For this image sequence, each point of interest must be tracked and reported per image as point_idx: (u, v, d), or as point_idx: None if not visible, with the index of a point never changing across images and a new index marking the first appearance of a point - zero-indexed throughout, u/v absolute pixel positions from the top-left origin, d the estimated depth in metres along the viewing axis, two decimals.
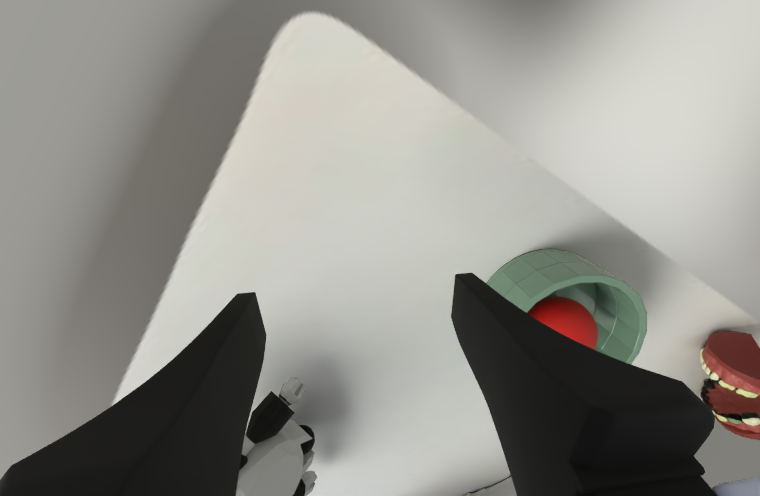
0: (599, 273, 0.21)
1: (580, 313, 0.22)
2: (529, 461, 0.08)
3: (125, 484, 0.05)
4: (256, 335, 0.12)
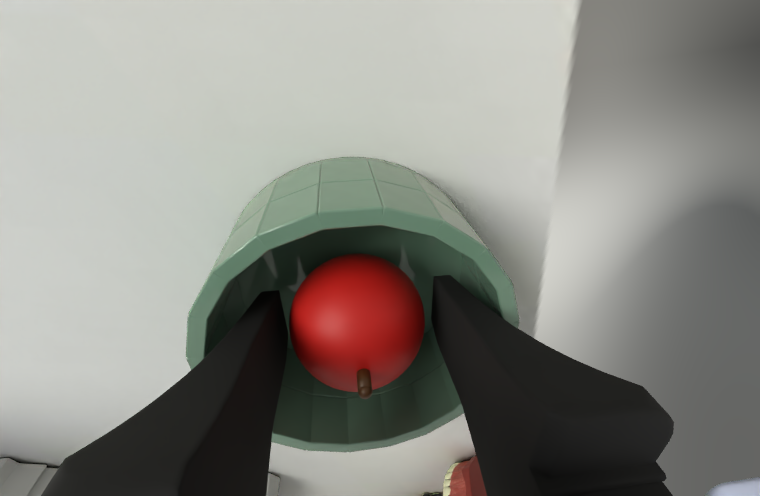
0: (507, 276, 0.10)
1: (417, 317, 0.11)
2: (497, 465, 0.08)
3: (183, 476, 0.05)
4: (281, 332, 0.12)
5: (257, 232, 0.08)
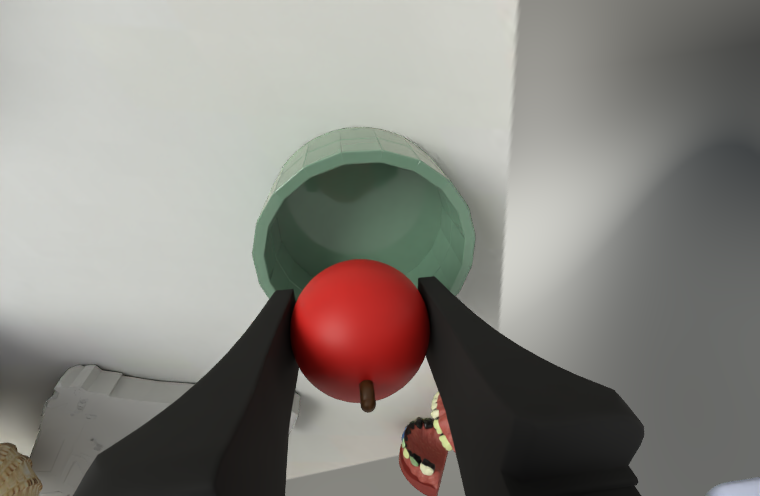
0: (465, 203, 0.15)
1: (422, 326, 0.10)
2: (474, 468, 0.08)
3: (217, 471, 0.05)
4: None
5: (303, 166, 0.13)
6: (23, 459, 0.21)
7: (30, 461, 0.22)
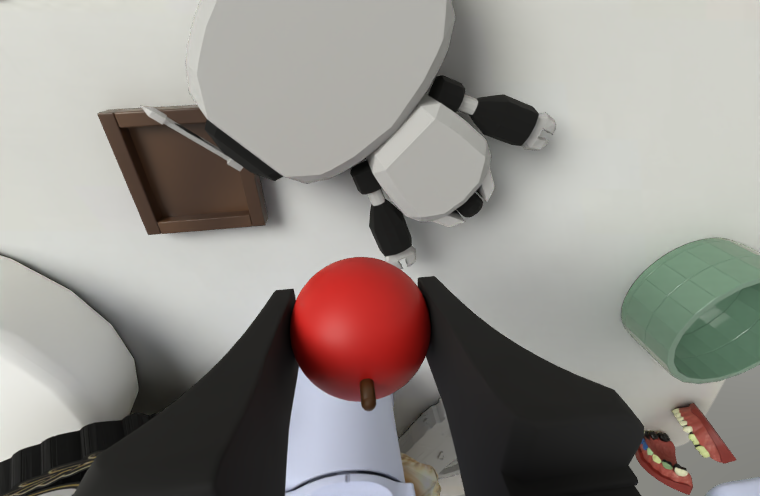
0: None
1: (423, 324, 0.10)
2: (474, 469, 0.08)
3: (217, 471, 0.05)
4: None
5: (739, 282, 0.21)
6: None
7: None
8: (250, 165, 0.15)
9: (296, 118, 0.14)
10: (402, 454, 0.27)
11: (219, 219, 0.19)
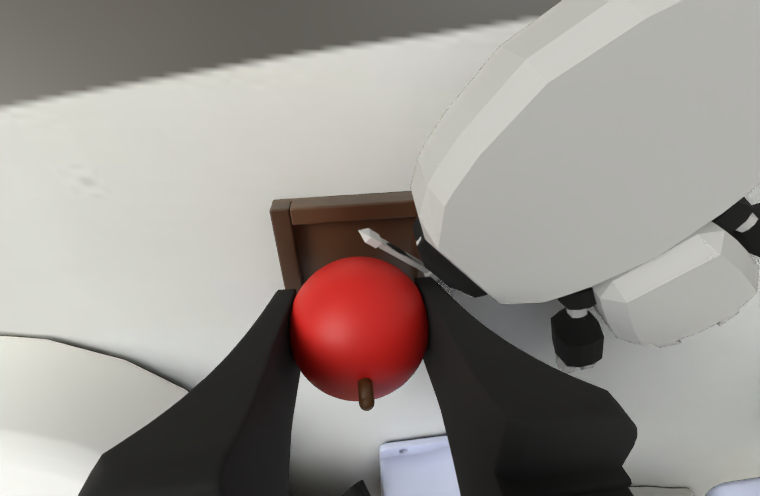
0: None
1: (421, 323, 0.10)
2: (469, 469, 0.08)
3: (222, 471, 0.05)
4: None
5: None
6: None
7: None
8: (458, 286, 0.12)
9: (543, 249, 0.11)
10: None
11: None
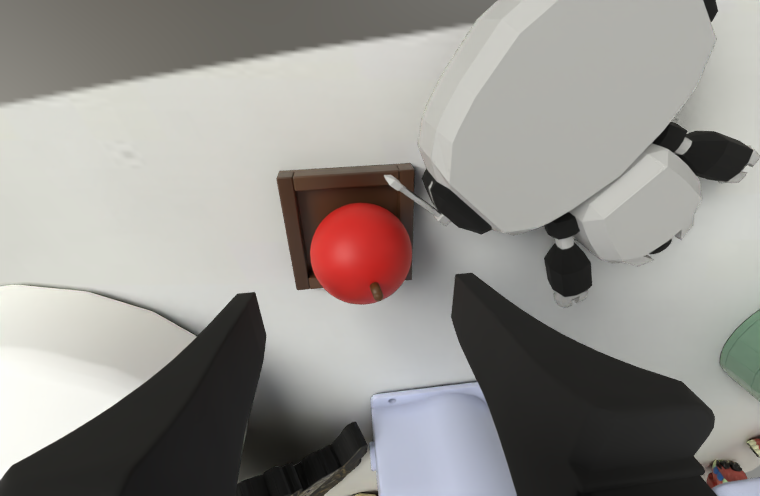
0: None
1: (408, 245, 0.15)
2: (529, 461, 0.08)
3: (125, 484, 0.05)
4: (256, 335, 0.12)
5: None
6: None
7: None
8: (467, 222, 0.15)
9: (532, 176, 0.13)
10: None
11: None
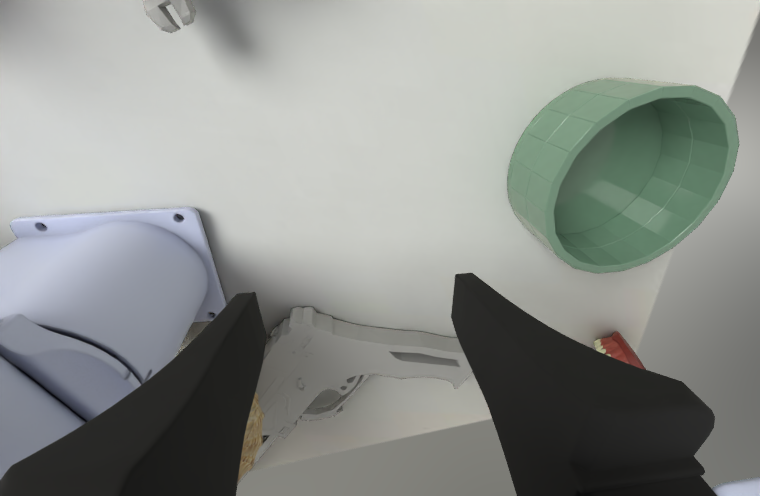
0: None
1: None
2: (529, 461, 0.08)
3: (125, 484, 0.05)
4: (256, 335, 0.12)
5: (625, 99, 0.15)
6: (256, 393, 0.23)
7: None
8: None
9: None
10: None
11: None
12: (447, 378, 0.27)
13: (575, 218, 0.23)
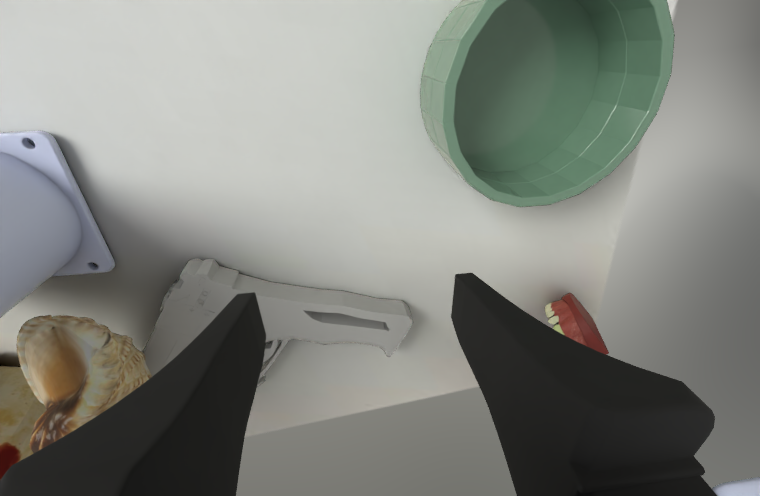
0: None
1: None
2: (529, 461, 0.08)
3: (125, 484, 0.05)
4: (257, 335, 0.12)
5: None
6: (143, 354, 0.20)
7: (144, 361, 0.21)
8: None
9: None
10: (87, 319, 0.18)
11: None
12: (377, 344, 0.24)
13: (505, 152, 0.20)
